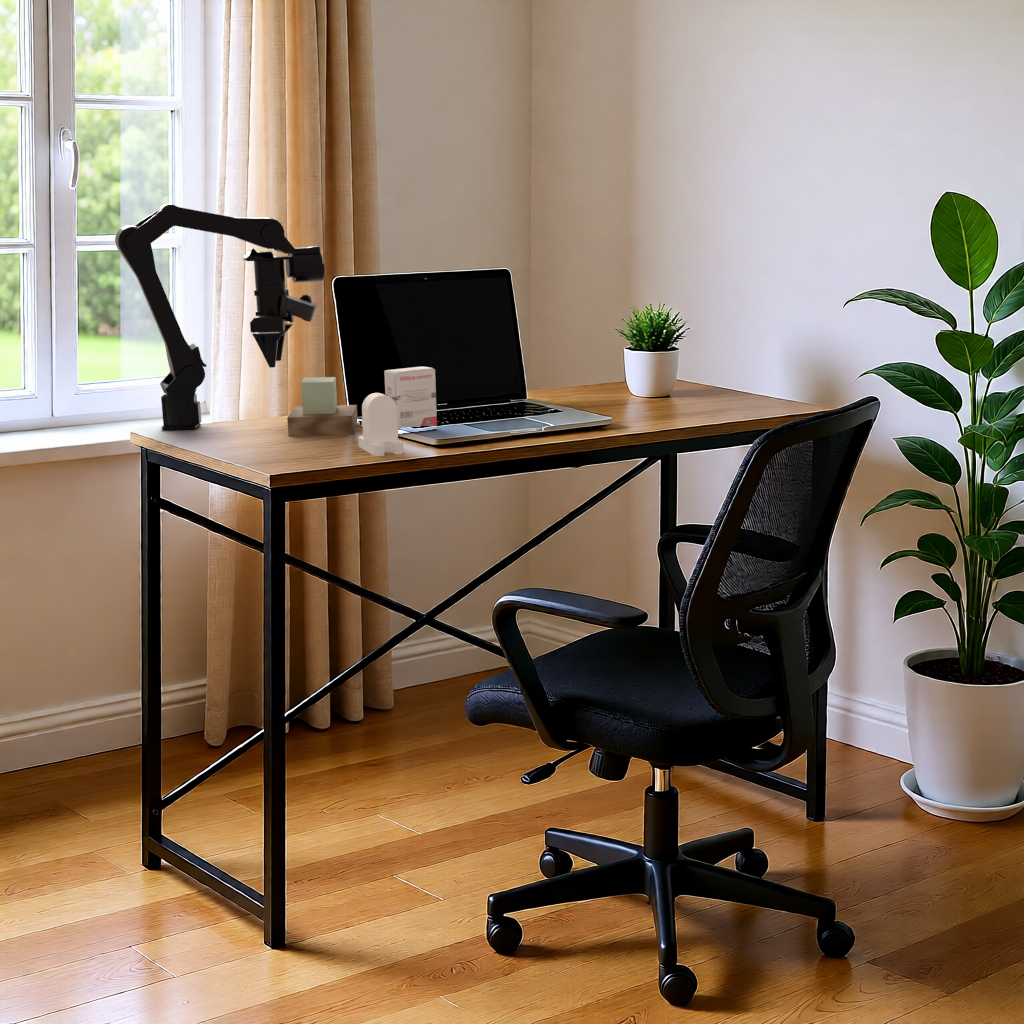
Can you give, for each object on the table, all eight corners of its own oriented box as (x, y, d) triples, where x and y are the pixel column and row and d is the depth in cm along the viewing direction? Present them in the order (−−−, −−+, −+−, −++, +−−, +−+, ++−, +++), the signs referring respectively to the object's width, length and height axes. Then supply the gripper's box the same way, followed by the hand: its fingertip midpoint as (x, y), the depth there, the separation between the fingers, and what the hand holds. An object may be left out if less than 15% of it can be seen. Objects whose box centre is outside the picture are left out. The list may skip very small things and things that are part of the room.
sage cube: (302, 414, 261) (300, 382, 259) (305, 408, 266) (304, 377, 265) (334, 413, 261) (333, 381, 259) (337, 408, 267) (335, 377, 265)
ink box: (426, 426, 266) (424, 364, 263) (438, 430, 261) (436, 367, 259) (385, 431, 261) (383, 368, 258) (397, 435, 257) (394, 372, 254)
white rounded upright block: (375, 456, 239) (372, 399, 237) (357, 446, 248) (355, 391, 246) (404, 453, 241) (402, 396, 239) (386, 443, 250) (383, 388, 248)
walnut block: (288, 438, 259) (287, 417, 258) (295, 426, 270) (294, 406, 269) (353, 436, 259) (352, 415, 258) (357, 425, 271) (356, 404, 270)
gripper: (307, 287, 261) (311, 369, 264) (316, 278, 279) (320, 356, 283) (247, 288, 260) (252, 371, 264) (260, 280, 278) (265, 357, 282)
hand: (275, 364), depth 273 cm, fingers open, 9 cm apart
